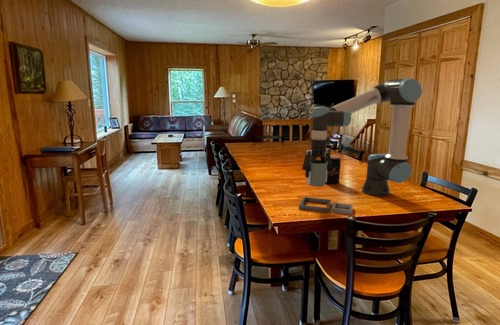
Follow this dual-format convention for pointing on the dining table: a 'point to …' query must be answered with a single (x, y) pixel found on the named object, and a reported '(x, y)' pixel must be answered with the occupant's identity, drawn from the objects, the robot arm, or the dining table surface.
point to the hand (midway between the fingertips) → (316, 182)
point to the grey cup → (318, 173)
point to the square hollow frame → (314, 208)
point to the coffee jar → (334, 170)
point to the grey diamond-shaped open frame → (342, 211)
